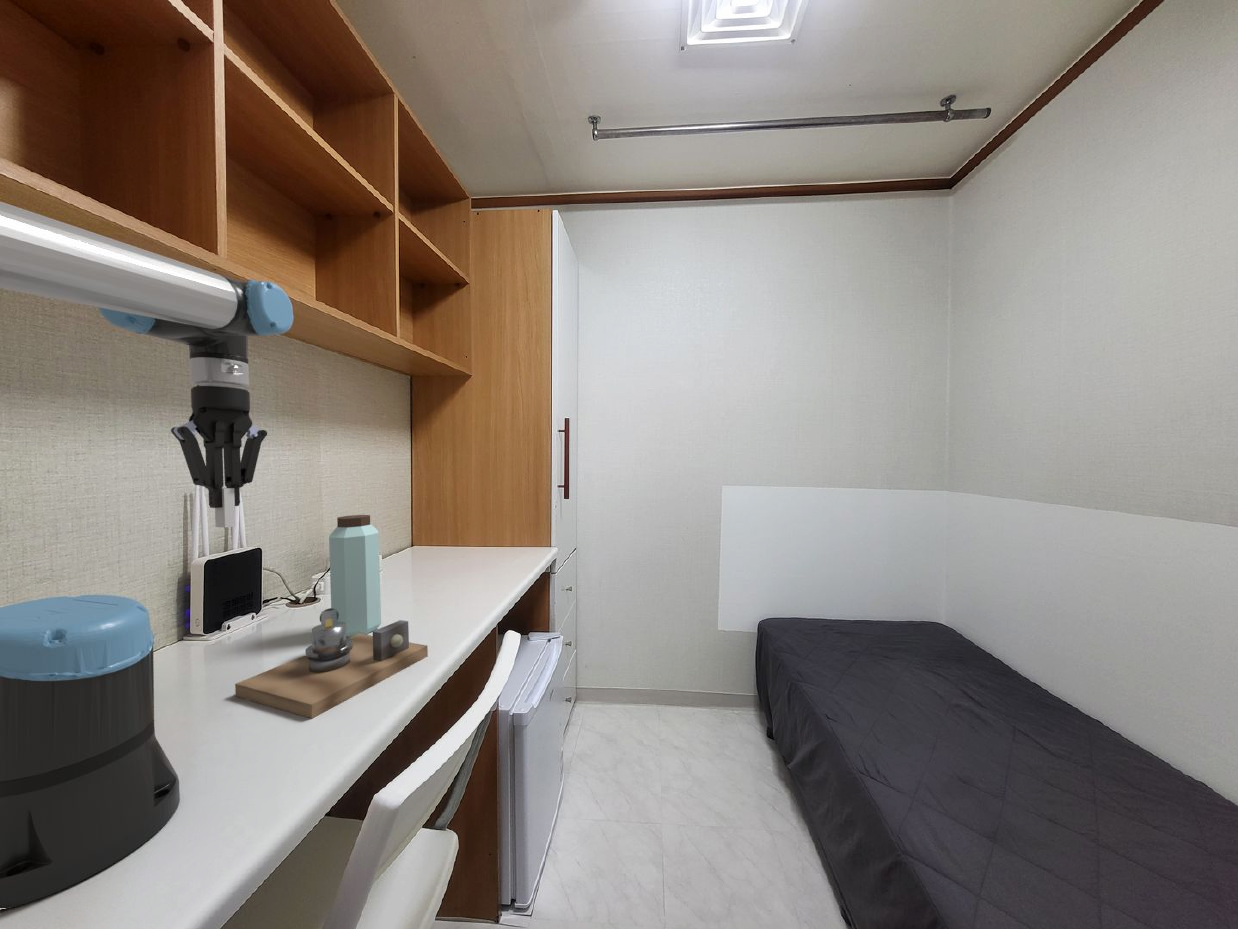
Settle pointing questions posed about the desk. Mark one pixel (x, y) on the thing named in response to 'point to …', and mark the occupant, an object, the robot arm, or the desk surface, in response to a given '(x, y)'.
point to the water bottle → (355, 574)
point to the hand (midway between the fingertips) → (225, 526)
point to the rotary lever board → (334, 673)
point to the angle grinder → (329, 638)
